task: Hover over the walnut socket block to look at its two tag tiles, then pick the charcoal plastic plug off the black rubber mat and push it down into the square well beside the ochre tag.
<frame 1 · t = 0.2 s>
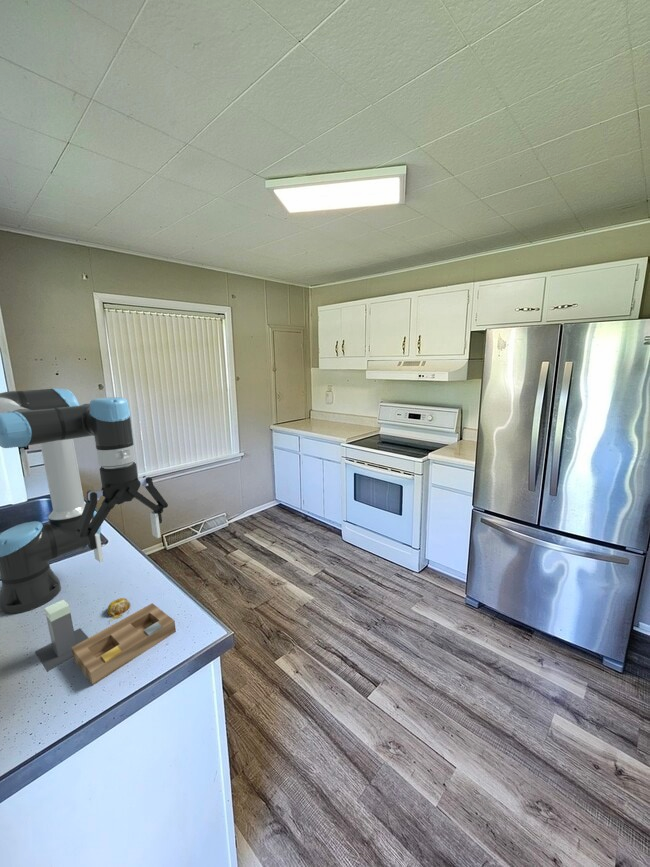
hand: (129, 547, 87), 27 cm above the counter, fingers open, 13 cm apart
plug: (65, 648, 90), point 1 cm above the counter, touching mat
fruit: (120, 616, 103), on the counter
socket block: (127, 646, 91), on the counter
mat: (65, 650, 90), on the counter
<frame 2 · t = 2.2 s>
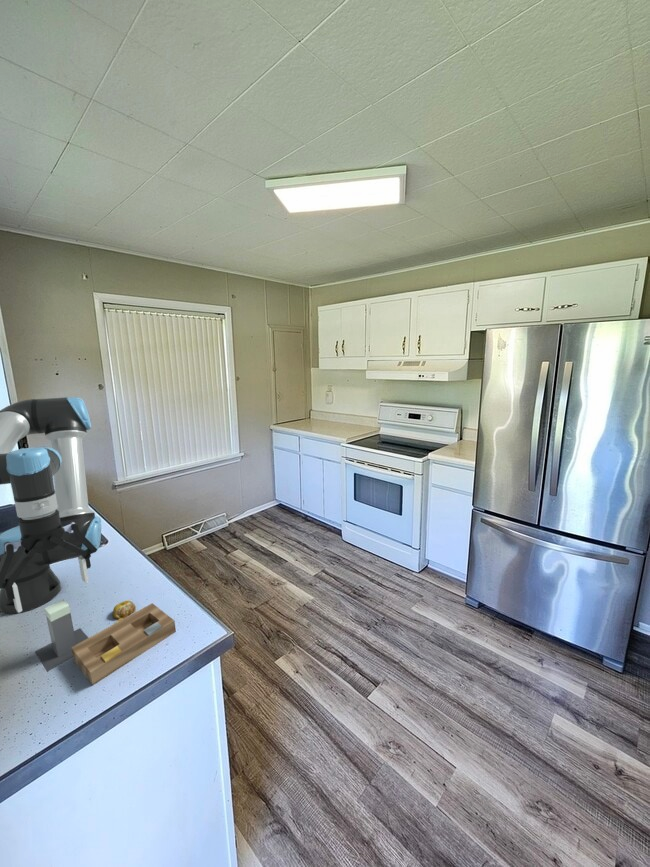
hand: (54, 594, 87), 16 cm above the counter, fingers open, 13 cm apart
fruit: (126, 619, 102), on the counter
everything else where it was.
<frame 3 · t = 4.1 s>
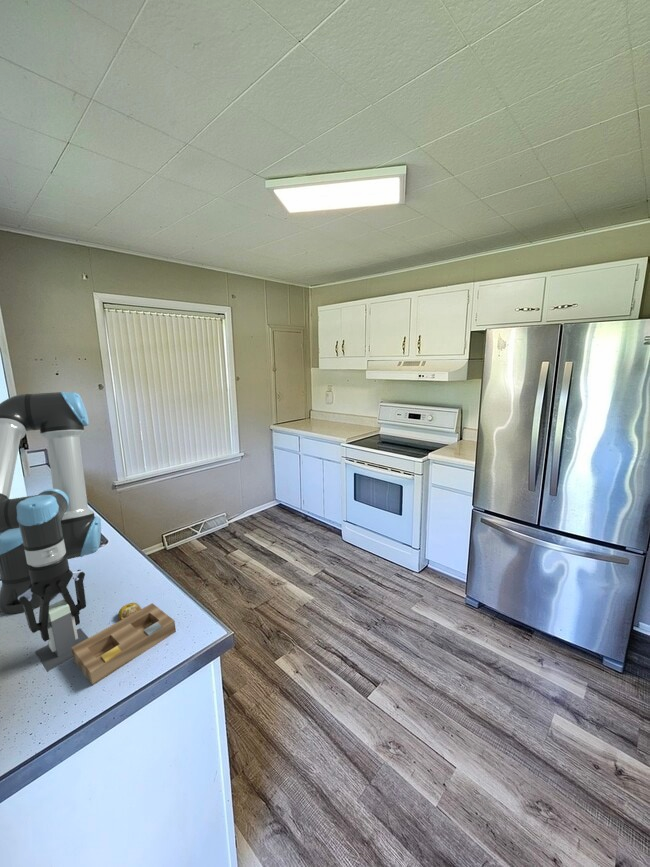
hand: (63, 642, 90), 2 cm above the counter, fingers closed on plug, 4 cm apart
plug: (65, 648, 90), point 1 cm above the counter, touching gripper, mat
fruit: (131, 621, 101), on the counter
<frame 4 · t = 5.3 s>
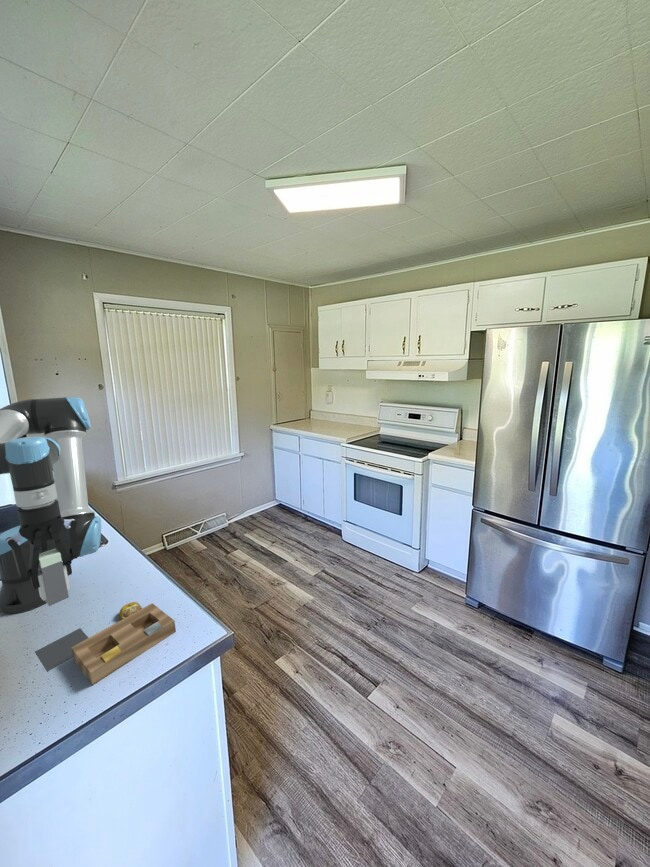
hand: (55, 592, 87), 17 cm above the counter, fingers closed on plug, 4 cm apart
plug: (56, 598, 87), point 15 cm above the counter, touching gripper
everything else where it was.
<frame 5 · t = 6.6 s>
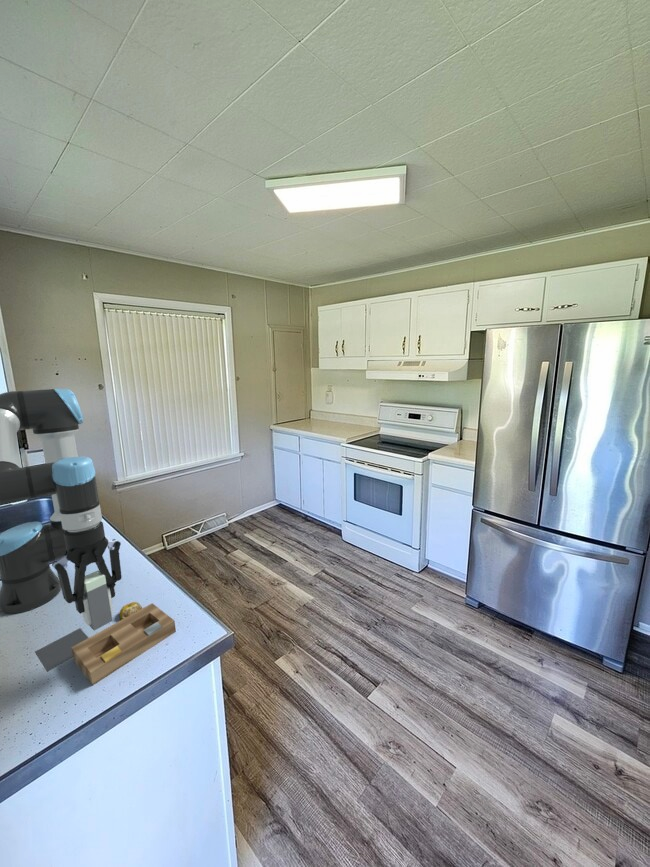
hand: (98, 616, 84), 12 cm above the counter, fingers closed on plug, 4 cm apart
plug: (99, 622, 85), point 11 cm above the counter, touching gripper
everything else where it was.
when the fingers open (5 cm above the counter, at t = 8.1 s): plug drops 2 cm, resting on socket block.
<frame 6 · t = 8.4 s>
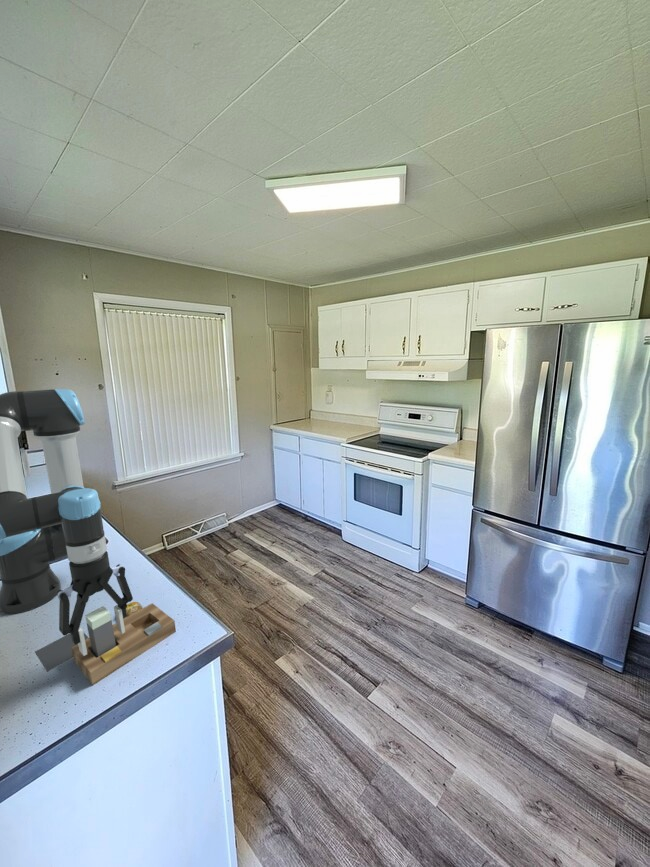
hand: (103, 641, 86), 5 cm above the counter, fingers open, 8 cm apart
plug: (105, 656, 87), point 1 cm above the counter, touching socket block
everything else where it was.
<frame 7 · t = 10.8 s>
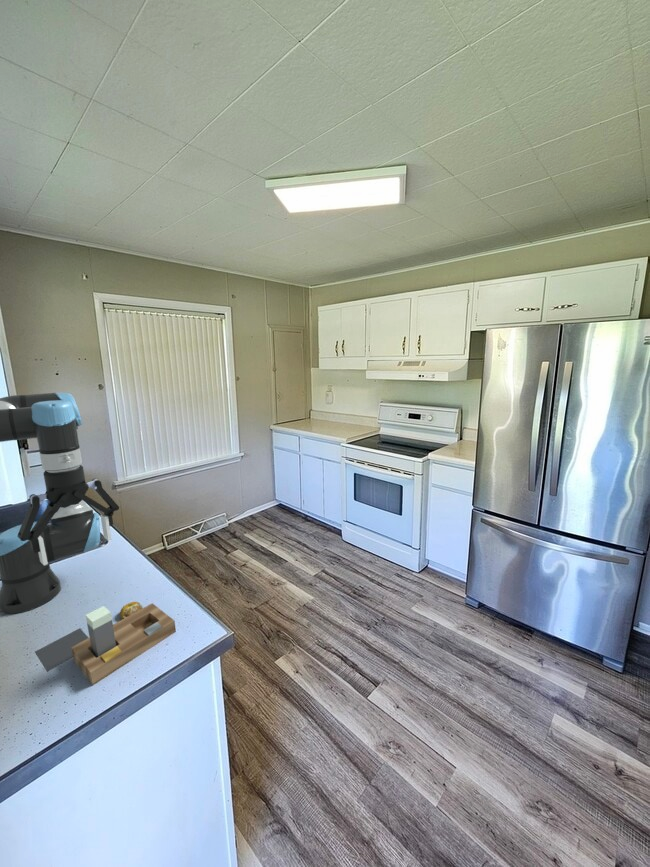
hand: (77, 550, 87), 27 cm above the counter, fingers open, 13 cm apart
nothing on the counter moved.
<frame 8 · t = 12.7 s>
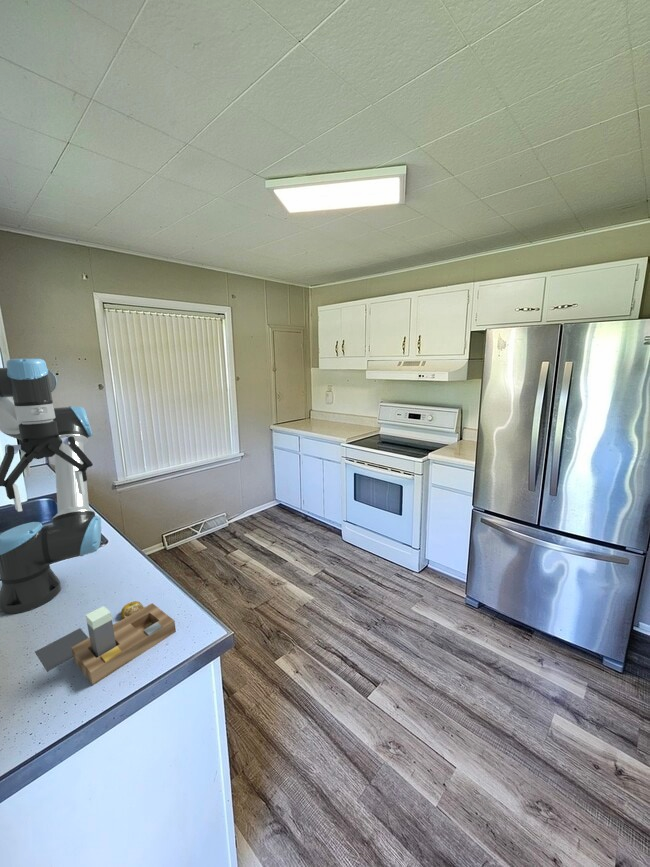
hand: (52, 501, 92), 37 cm above the counter, fingers open, 13 cm apart
nothing on the counter moved.
at the end: plug 0.0 cm from the target spot on the socket block, point 1.0 cm above the socket block's base; plug tilted 0°; the gripper is holding nothing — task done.
